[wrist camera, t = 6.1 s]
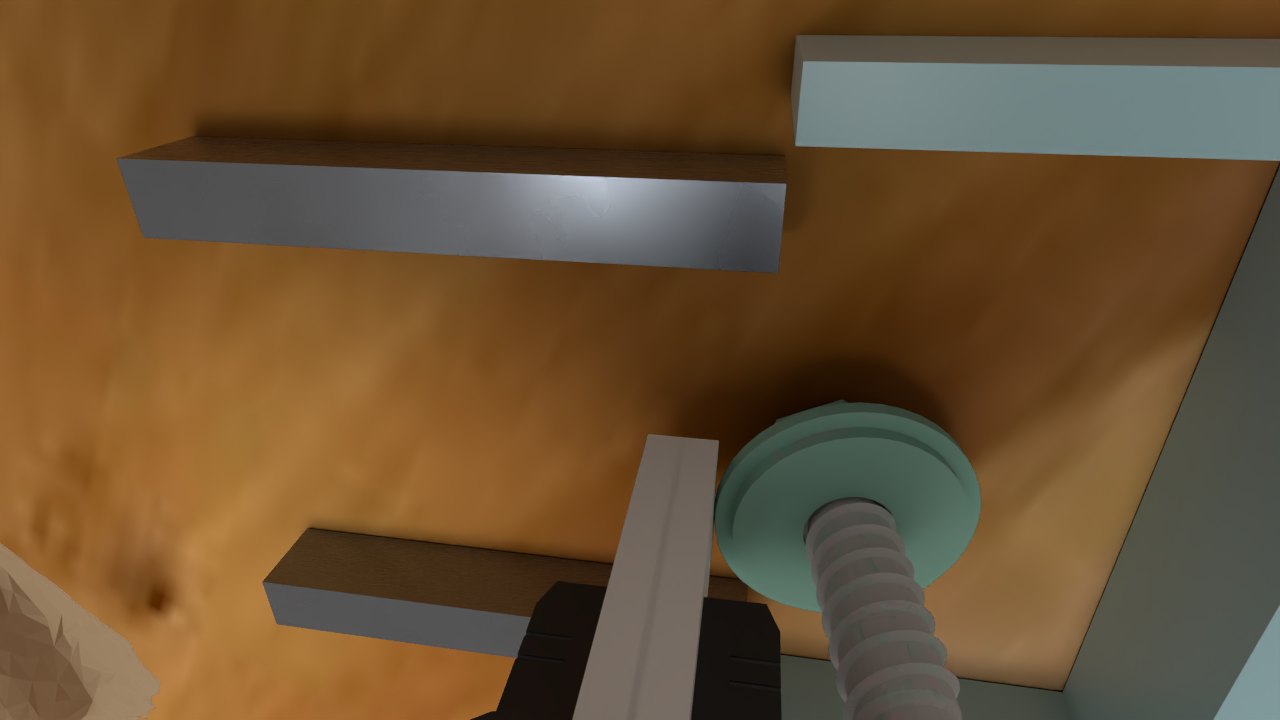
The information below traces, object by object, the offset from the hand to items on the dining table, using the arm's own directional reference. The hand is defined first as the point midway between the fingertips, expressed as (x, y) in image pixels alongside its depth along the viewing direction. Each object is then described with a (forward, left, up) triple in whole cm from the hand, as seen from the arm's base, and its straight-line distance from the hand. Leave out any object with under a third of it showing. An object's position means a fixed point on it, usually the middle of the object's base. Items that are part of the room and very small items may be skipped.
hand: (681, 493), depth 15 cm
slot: (0, -4, -2) cm, 5 cm away
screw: (0, +3, -2) cm, 4 cm away
